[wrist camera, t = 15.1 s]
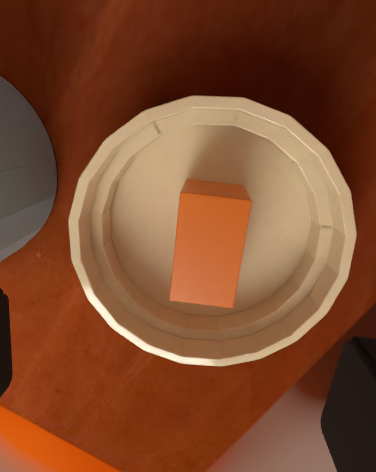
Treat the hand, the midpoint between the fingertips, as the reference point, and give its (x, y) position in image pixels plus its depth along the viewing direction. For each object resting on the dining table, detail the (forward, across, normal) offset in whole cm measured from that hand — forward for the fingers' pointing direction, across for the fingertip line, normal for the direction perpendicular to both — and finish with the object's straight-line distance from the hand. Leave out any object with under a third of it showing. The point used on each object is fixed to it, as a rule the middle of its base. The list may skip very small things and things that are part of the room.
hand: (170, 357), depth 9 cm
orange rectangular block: (+14, -1, 0) cm, 14 cm away
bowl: (+15, -1, 0) cm, 15 cm away
